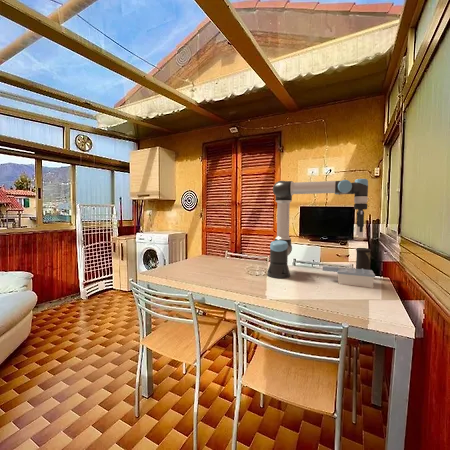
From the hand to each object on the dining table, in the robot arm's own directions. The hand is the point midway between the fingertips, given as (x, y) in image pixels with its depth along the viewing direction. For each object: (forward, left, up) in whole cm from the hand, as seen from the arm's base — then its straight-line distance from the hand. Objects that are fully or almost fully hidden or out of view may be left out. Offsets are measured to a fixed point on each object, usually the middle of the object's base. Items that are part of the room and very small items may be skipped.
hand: (359, 236), depth 160 cm
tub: (-3, -14, -28) cm, 31 cm away
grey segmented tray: (-7, -14, -21) cm, 26 cm away
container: (+3, +5, -28) cm, 29 cm away
